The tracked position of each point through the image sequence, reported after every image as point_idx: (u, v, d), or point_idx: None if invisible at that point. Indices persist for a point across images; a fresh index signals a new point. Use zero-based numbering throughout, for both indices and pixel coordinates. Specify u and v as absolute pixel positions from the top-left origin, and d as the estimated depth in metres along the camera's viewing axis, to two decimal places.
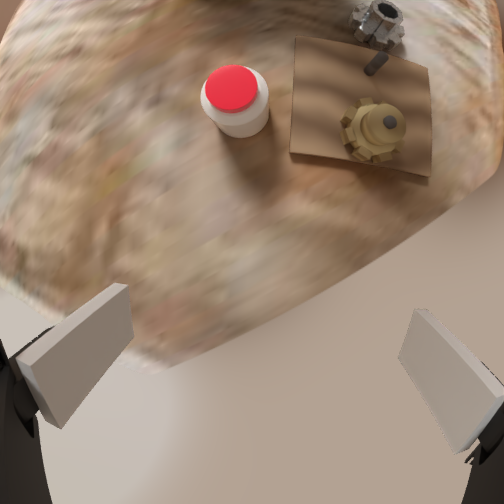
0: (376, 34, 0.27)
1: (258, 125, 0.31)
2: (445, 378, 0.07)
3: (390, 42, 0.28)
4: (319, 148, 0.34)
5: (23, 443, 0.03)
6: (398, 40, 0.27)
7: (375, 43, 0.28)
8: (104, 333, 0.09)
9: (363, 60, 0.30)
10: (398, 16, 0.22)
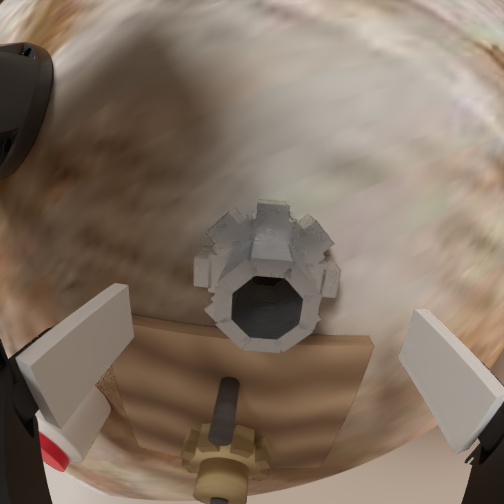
0: None
1: None
2: (445, 378, 0.07)
3: None
4: (168, 450, 0.24)
5: (23, 443, 0.03)
6: None
7: None
8: (104, 333, 0.09)
9: (220, 365, 0.20)
10: (300, 321, 0.12)
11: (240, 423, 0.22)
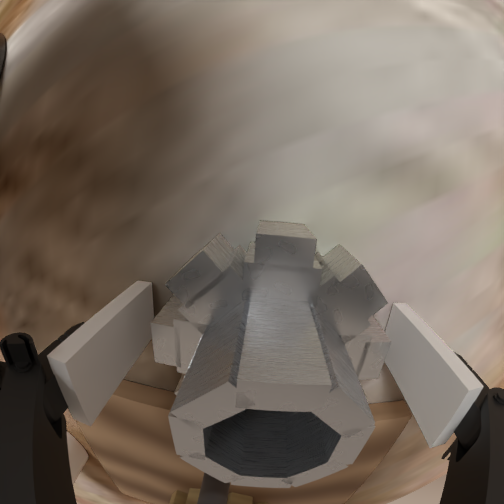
0: None
1: None
2: (420, 370, 0.08)
3: None
4: (154, 501, 0.17)
5: (51, 445, 0.04)
6: None
7: None
8: (131, 329, 0.10)
9: None
10: (330, 458, 0.05)
11: (235, 491, 0.14)
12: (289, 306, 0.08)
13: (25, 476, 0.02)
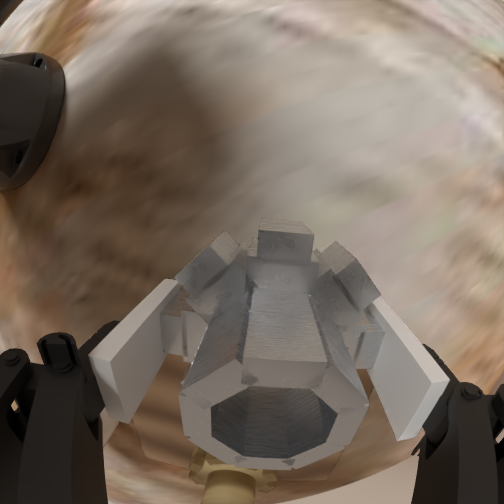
0: None
1: None
2: (389, 362, 0.08)
3: None
4: (175, 462, 0.23)
5: (89, 448, 0.04)
6: None
7: None
8: None
9: None
10: (328, 438, 0.06)
11: None
12: (289, 296, 0.09)
13: (62, 483, 0.02)
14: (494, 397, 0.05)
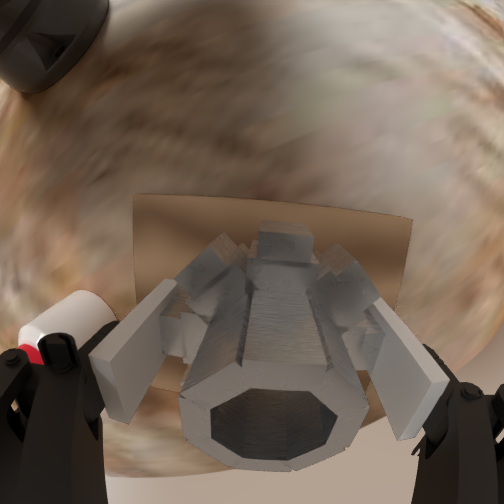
0: None
1: None
2: (389, 362, 0.08)
3: None
4: None
5: (89, 448, 0.04)
6: None
7: None
8: None
9: None
10: (328, 440, 0.06)
11: None
12: (289, 298, 0.09)
13: (62, 483, 0.02)
14: (494, 397, 0.05)
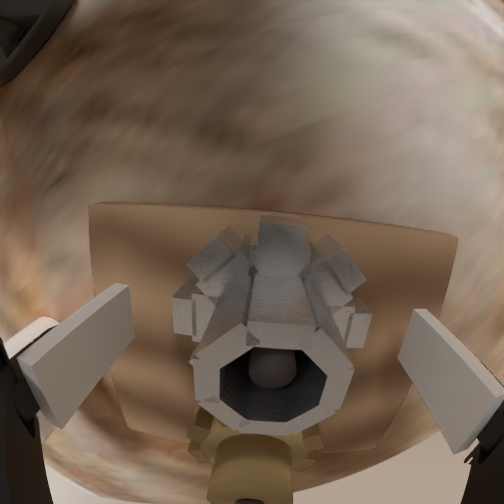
0: None
1: None
2: (444, 378, 0.07)
3: None
4: (168, 433, 0.18)
5: (24, 443, 0.03)
6: None
7: None
8: (105, 333, 0.09)
9: None
10: (321, 401, 0.08)
11: None
12: (285, 279, 0.10)
13: None
14: None
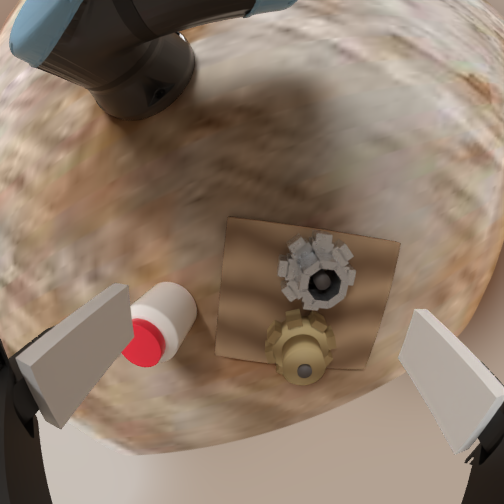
0: None
1: None
2: (445, 378, 0.07)
3: None
4: (243, 354, 0.36)
5: (23, 443, 0.03)
6: None
7: None
8: (104, 333, 0.09)
9: None
10: (339, 292, 0.26)
11: None
12: (325, 253, 0.28)
13: None
14: None
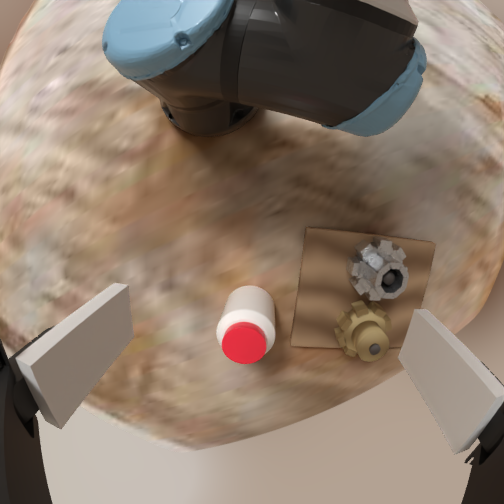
0: (371, 291, 0.36)
1: None
2: (445, 378, 0.07)
3: None
4: (315, 342, 0.41)
5: (23, 443, 0.03)
6: None
7: (368, 297, 0.37)
8: (104, 333, 0.09)
9: None
10: (402, 285, 0.31)
11: None
12: (387, 256, 0.34)
13: None
14: None
